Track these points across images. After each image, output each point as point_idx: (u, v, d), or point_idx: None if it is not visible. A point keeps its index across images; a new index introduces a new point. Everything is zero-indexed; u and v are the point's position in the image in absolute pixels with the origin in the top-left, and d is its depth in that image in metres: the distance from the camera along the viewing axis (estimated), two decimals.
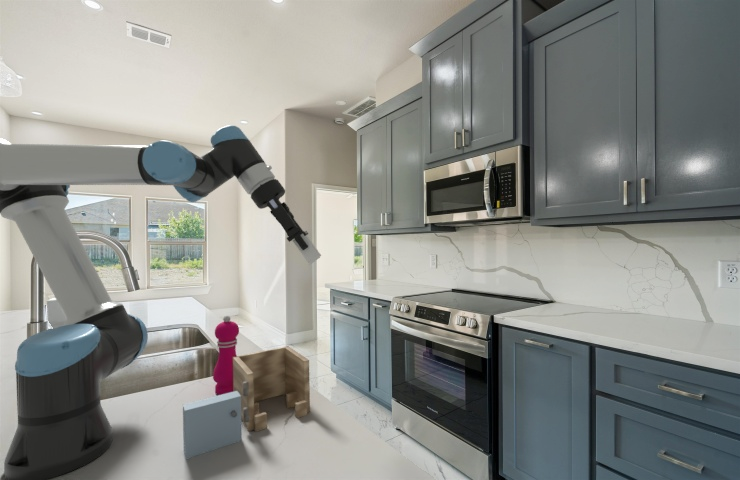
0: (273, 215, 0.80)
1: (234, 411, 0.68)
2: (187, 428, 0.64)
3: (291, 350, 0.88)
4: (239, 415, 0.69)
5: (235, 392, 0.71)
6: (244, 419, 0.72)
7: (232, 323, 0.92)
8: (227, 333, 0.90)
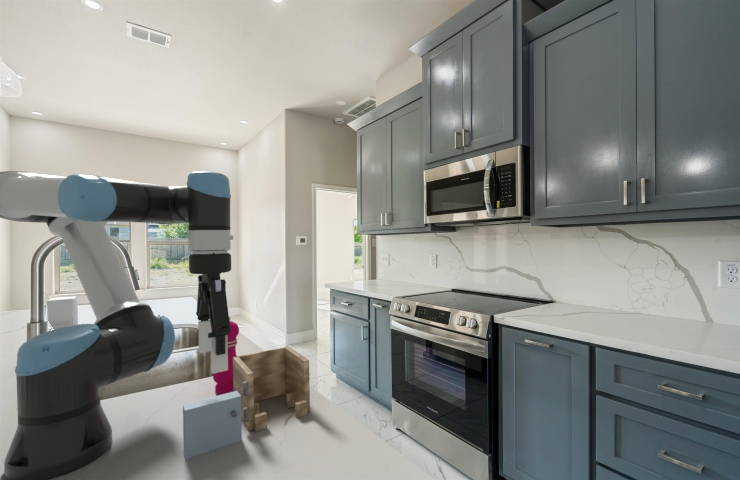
0: (202, 291, 0.65)
1: (234, 411, 0.68)
2: (187, 428, 0.64)
3: (291, 350, 0.88)
4: (239, 415, 0.69)
5: (235, 392, 0.71)
6: (244, 419, 0.72)
7: (232, 323, 0.92)
8: None
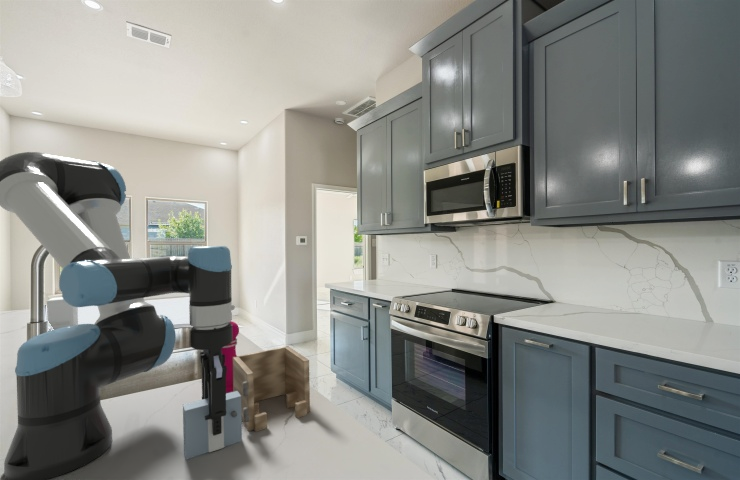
0: (203, 367, 0.65)
1: (234, 411, 0.68)
2: (187, 428, 0.64)
3: (291, 350, 0.88)
4: (239, 415, 0.69)
5: (235, 392, 0.71)
6: (244, 419, 0.72)
7: (232, 323, 0.92)
8: None
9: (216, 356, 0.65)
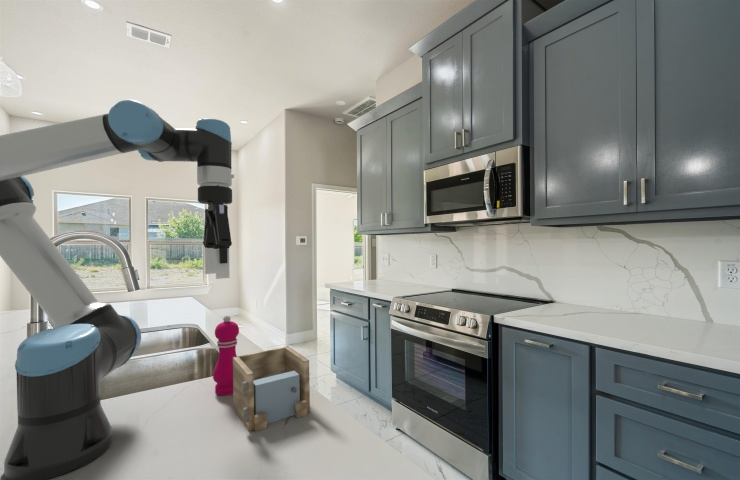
0: (208, 216, 0.80)
1: (294, 387, 0.79)
2: (257, 400, 0.74)
3: (291, 350, 0.88)
4: (298, 391, 0.80)
5: (293, 371, 0.81)
6: (244, 419, 0.72)
7: (232, 323, 0.92)
8: (227, 333, 0.90)
9: None
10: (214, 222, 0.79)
